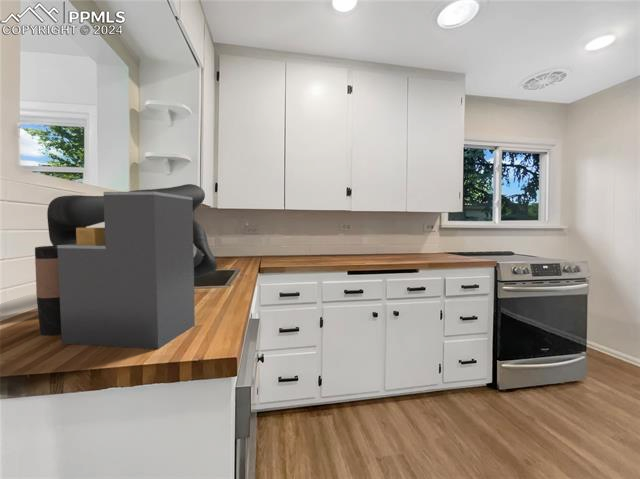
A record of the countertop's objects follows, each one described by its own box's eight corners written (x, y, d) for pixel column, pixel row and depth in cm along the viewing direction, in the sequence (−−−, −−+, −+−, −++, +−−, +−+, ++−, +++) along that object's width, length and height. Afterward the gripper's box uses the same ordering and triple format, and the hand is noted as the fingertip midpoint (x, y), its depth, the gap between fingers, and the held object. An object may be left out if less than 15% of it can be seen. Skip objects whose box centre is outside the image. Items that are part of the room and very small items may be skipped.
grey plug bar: (76, 244, 62) (76, 227, 62) (148, 239, 84) (148, 226, 84) (94, 245, 61) (94, 228, 61) (162, 239, 83) (162, 226, 83)
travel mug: (45, 338, 65) (40, 248, 64) (33, 331, 69) (29, 246, 68) (86, 328, 71) (83, 246, 70) (74, 322, 75) (70, 244, 74)
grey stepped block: (61, 343, 62) (54, 192, 60) (114, 321, 76) (110, 197, 74) (158, 349, 60) (154, 191, 58) (194, 325, 74) (192, 197, 72)
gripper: (162, 236, 97) (129, 210, 83) (203, 237, 96) (177, 210, 81) (155, 257, 94) (120, 233, 80) (197, 258, 92) (169, 234, 78)
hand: (148, 221), depth 81 cm, fingers open, 8 cm apart
